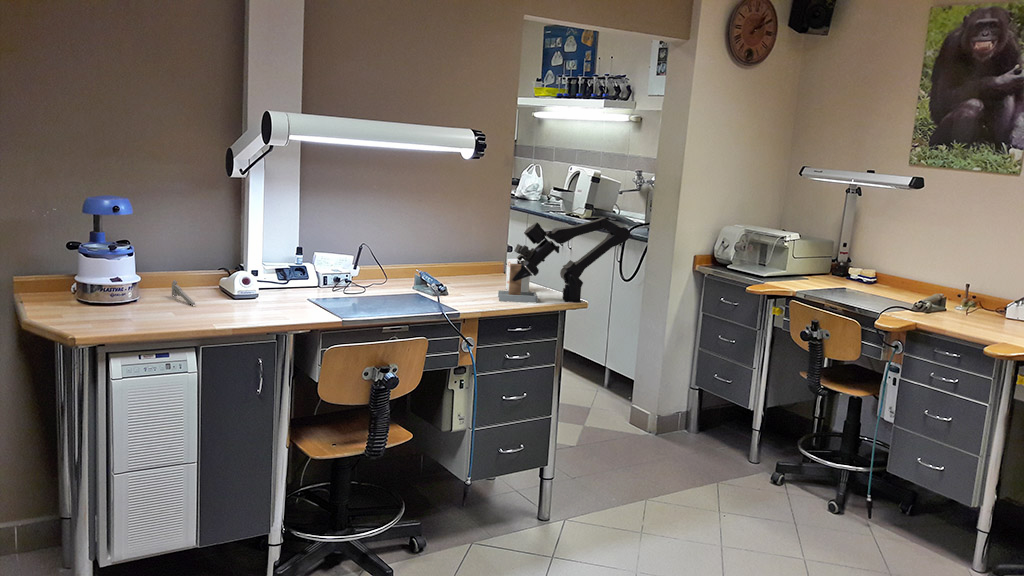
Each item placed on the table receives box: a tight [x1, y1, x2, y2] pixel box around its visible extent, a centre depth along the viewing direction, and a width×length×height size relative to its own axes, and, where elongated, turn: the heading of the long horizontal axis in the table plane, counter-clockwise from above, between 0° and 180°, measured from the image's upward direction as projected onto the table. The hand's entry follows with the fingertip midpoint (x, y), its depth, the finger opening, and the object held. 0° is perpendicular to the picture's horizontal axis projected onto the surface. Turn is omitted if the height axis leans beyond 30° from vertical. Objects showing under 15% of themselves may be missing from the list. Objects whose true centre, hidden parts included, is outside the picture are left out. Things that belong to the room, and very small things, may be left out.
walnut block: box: [508, 264, 522, 295], centre depth 327 cm, size 4×4×13 cm
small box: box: [505, 257, 531, 292], centre depth 347 cm, size 8×6×13 cm
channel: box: [497, 289, 539, 303], centre depth 328 cm, size 15×10×2 cm, turn 93°
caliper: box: [171, 279, 196, 306], centre depth 291 cm, size 20×1×6 cm, turn 42°
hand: (511, 279), depth 327 cm, fingers closed on walnut block, 5 cm apart
